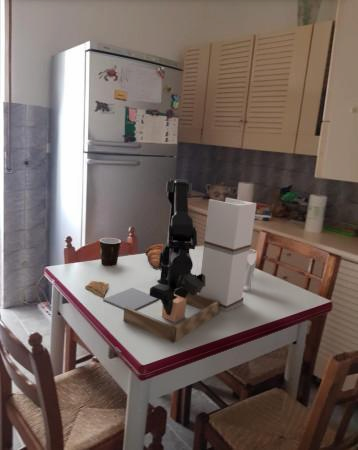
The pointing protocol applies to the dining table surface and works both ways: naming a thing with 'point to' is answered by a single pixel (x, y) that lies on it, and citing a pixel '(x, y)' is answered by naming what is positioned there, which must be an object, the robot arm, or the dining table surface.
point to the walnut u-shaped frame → (180, 329)
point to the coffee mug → (109, 251)
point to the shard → (97, 287)
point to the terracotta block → (176, 309)
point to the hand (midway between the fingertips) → (173, 312)
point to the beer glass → (249, 269)
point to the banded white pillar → (227, 250)
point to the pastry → (154, 255)
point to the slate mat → (130, 299)
